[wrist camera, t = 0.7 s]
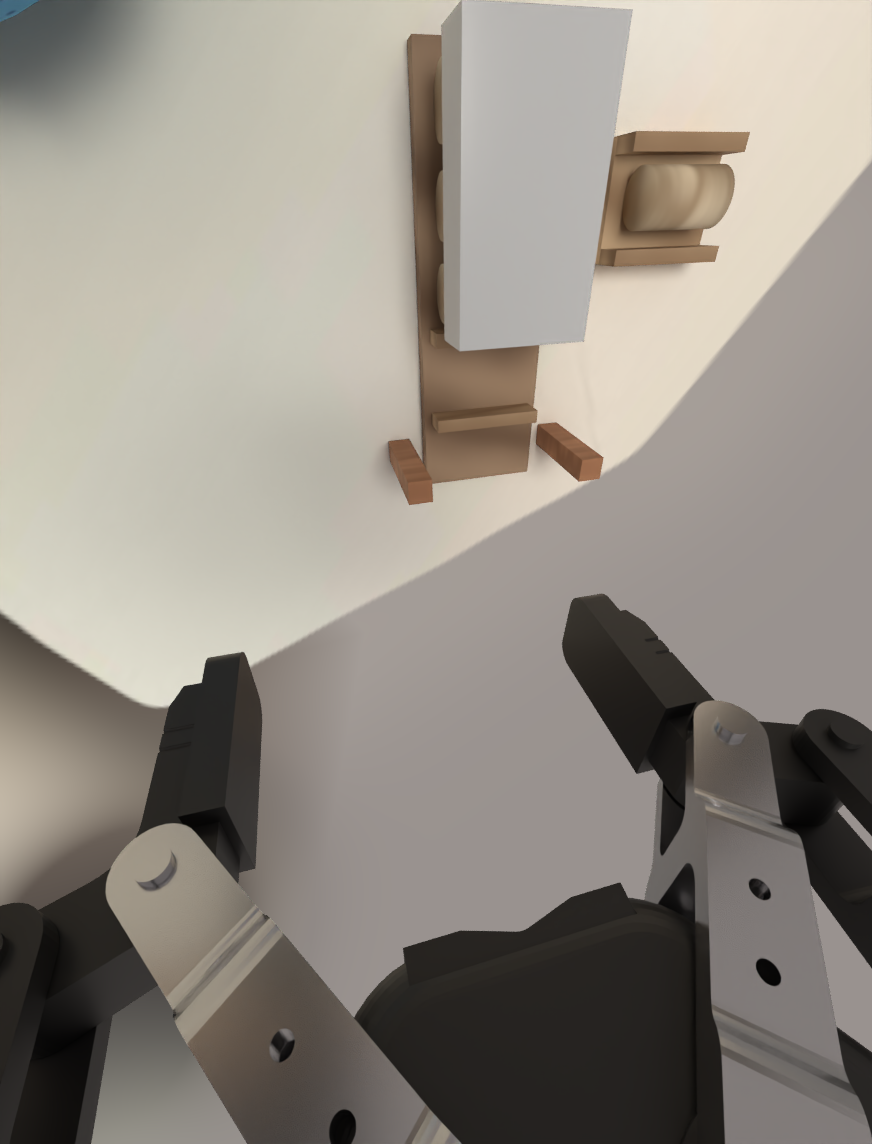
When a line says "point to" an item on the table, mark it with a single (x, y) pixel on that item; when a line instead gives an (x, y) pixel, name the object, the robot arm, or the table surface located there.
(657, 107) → the table surface
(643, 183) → the dowel
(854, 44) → the table surface
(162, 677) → the table surface
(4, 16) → the educational model
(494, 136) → the slab
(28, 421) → the table surface
